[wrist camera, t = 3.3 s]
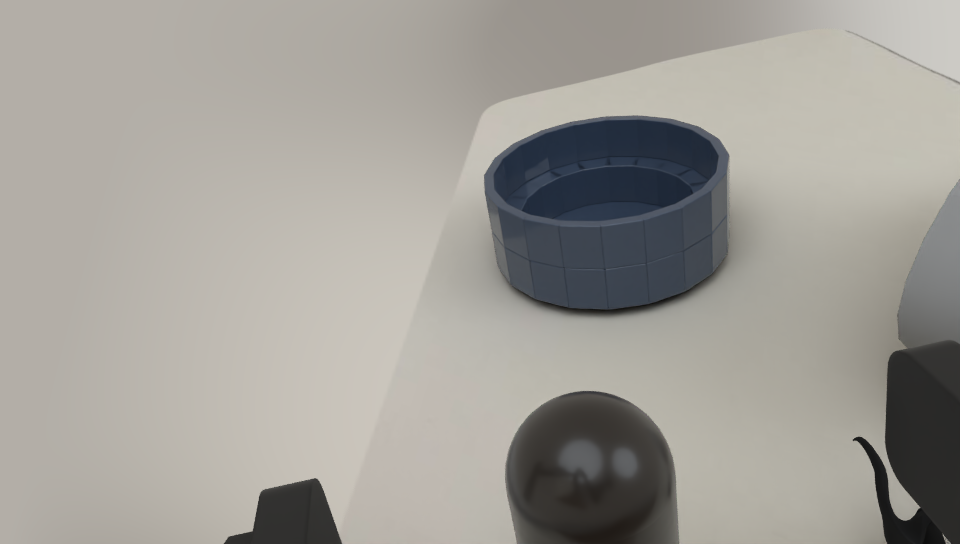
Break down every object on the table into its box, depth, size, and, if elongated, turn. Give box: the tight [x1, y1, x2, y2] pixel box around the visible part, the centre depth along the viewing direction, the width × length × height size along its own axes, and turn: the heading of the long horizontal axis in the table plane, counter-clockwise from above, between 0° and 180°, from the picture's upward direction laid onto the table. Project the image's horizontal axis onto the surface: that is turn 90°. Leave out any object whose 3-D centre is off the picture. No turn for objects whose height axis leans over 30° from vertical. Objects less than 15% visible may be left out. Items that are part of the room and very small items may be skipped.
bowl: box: [484, 116, 730, 310], centre depth 52 cm, size 14×14×6 cm
